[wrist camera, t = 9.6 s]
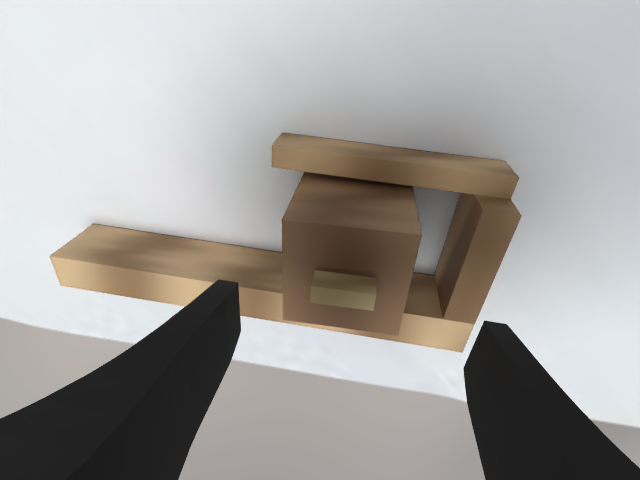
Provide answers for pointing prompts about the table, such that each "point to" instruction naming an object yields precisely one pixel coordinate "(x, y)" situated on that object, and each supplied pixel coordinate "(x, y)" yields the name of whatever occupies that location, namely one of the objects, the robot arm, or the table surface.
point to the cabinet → (349, 253)
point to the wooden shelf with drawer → (266, 266)
